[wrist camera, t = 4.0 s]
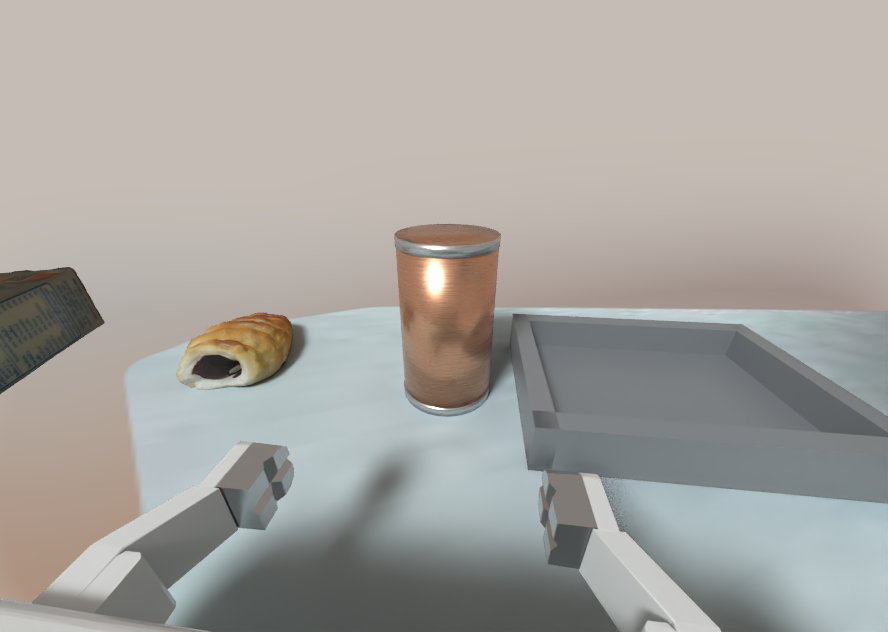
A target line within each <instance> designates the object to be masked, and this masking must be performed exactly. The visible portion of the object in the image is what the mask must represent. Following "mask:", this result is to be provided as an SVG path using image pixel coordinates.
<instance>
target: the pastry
mask: <svg viewBox="0 0 888 632" xmlns="http://www.w3.org/2000/svg"><path fill="white" fill-rule="evenodd" d="M292 337H293V332H292V326H291V322H290V321H289V320H288V319H287V318H286V317H285V316H282V315H274V314H267V313H255V314H252V315H250V316H244V317H241V318H236V319H234V320H232V321H229V322H223V323H221V324H219V325H216V326H212V327H210V328H208V329H207V330H206V331H205V333H204V334H203V335H201V336H198V337H196V338H193V339H192V340H191V341H190V343H189V345H188V347H187V350H186V351H185V355H184V357H183V358H182V360H181V363H180V368H179V370H178V371H177V373H176V376H177V378H178V380H179V381H180V382H181V383H183V384H185V385H188V386H190V387H191V388H196V389H201V390H209V389H217V388H224V387H229V386H247V385H251V384H255V383H257V382H259V381H262V380H265V379H267V378H268V377H270V376H271V375H273V374H274V373H275V372H277V371H278V370H279V368H280V366H281V365H282V363H283V362H284V361H285V362H286V358H287V357H288V353H289V351H290V347H291V341H292Z"/></svg>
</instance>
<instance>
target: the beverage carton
mask: <svg viewBox="0 0 888 632" xmlns="http://www.w3.org/2000/svg"><path fill="white" fill-rule="evenodd" d="M102 324H104V321H103V319H102V317H101V316H100V314H99V312H98V310H97V309H96V307H95V305H94V303H93V301H92V300H91V298H90V296H89V294H88V293H87V291H86V289H85V287H84V285H83V284H82V282H81V280H80V279H79V277H78V276H77V274H76V272H75V270H74V269H72V268H70V267H65V268H57V269H52V270H40V271H29V270H25V271H15V272H11V273H0V394H1V393H2V392H4V391H5V390H7V389H8V388H10V387H11V386H12V385H14V384H15V383H17V382H18V381H20V380H21V379H23V378H24V377H26V376H27V375H29V374H30V373H31V372H33V371H34V370H36V369H37V368H39V367H40V366H41V365H43V364H44V363H45V362H47V361H48V360H50V359H51V358H53V357H54V356H55V355H57V354H58V353H60V352H61V351H63V350H64V349H66V348H67V347H69V346H70V345H72V344H73V343H75V342H76V341H78V340H79V339H81V338H82V337H84V336H85V335H87V334H88V333H90V332H91V331H93V330H94V329H96V328H97V327H99V326H101V325H102Z"/></svg>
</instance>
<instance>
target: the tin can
mask: <svg viewBox="0 0 888 632" xmlns="http://www.w3.org/2000/svg"><path fill="white" fill-rule="evenodd" d="M500 237H501V234H500V233H499V232H498V231H496V230H493V229H490V228H486V227H480V226H473V225H460V224H436V225H435V224H434V225H421V226H414V227H409V228H405V229H402V230H399V231H397V232H396V233H395V235H394V239H395V247H396V256H397V270H398V285H399V300H400V316H401V331H402V346H403V361H404V376H405V380H404V387H405V394H406V397H407V399H408V400H409V402H410V403H411V404H412V405H413V406H414V407H416V408H417V409H419V410H421V411H423V412H425V413H428V414H432V415H436V416H458V415H463V414H466V413H469V412H471V411H473V410H475V409H477V408H478V407H480V406H481V405H482V404H483V403H484V402H485V400H486V399H487V397H488V394H489V383H490V382H489V374H490V360H491V347H492V334H493V320H494V307H495V293H496V279H497V266H498V253H499V247H500V239H501V238H500Z"/></svg>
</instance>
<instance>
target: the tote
mask: <svg viewBox="0 0 888 632" xmlns="http://www.w3.org/2000/svg"><path fill="white" fill-rule="evenodd" d="M510 349H511V356H512V362H513V369H514V376H515V383H516V390H517V397H518V404H519V411H520V418H521V425H522V431H523V438H524V445H525V452H526V459H527V466H528V470H537V471H544V470H545V469H546V470H558V471H571V472H578V473H590V474H597V475H598V476H601V477H612V478H623V479H633V480H644V481H655V482H665V483H676V484H687V485H698V486H708V487H719V488H730V489H740V490H751V491H762V492H772V493H783V494H794V495H805V496H815V497H826V498H837V499H847V500H858V501H869V502H879V503H888V416H886V415H884V414H883V413H881V412H880V411H878V410H877V409H875V408H873V407H872V406H870V405H869V404H867V403H865V402H864V401H862V400H861V399H859V398H858V397H856V396H854V395H853V394H851V393H850V392H848V391H846V390H845V389H843V388H842V387H840V386H839V385H837V384H835V383H834V382H832V381H831V380H829V379H828V378H826V377H824V376H823V375H821V374H820V373H818V372H816V371H815V370H813V369H812V368H810V367H809V366H807V365H805V364H804V363H802V362H801V361H799V360H797V359H796V358H794V357H793V356H791V355H790V354H788V353H786V352H785V351H783V350H782V349H780V348H778V347H777V346H775V345H774V344H772V343H771V342H769V341H767V340H766V339H764V338H763V337H761V336H759V335H758V334H756V333H755V332H753V331H752V330H750V329H748V328H747V327H745V326H744V325H742V324H720V323H699V322H677V321H656V320H634V319H612V318H591V317H569V316H548V315H526V314H513V319H512V328H511V338H510Z"/></svg>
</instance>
